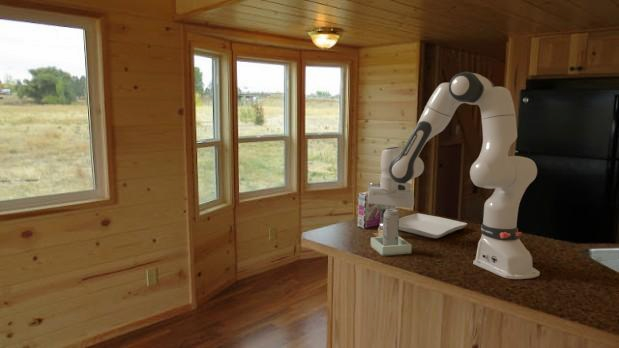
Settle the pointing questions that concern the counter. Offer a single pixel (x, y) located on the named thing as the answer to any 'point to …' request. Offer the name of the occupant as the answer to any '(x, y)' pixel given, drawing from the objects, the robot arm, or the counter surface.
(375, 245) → the tray
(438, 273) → the counter surface
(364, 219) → the candy bar box
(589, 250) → the counter surface
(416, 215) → the square plate
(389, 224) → the energy drink can
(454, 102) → the robot arm
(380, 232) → the crank pedestal
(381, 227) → the crank lever
